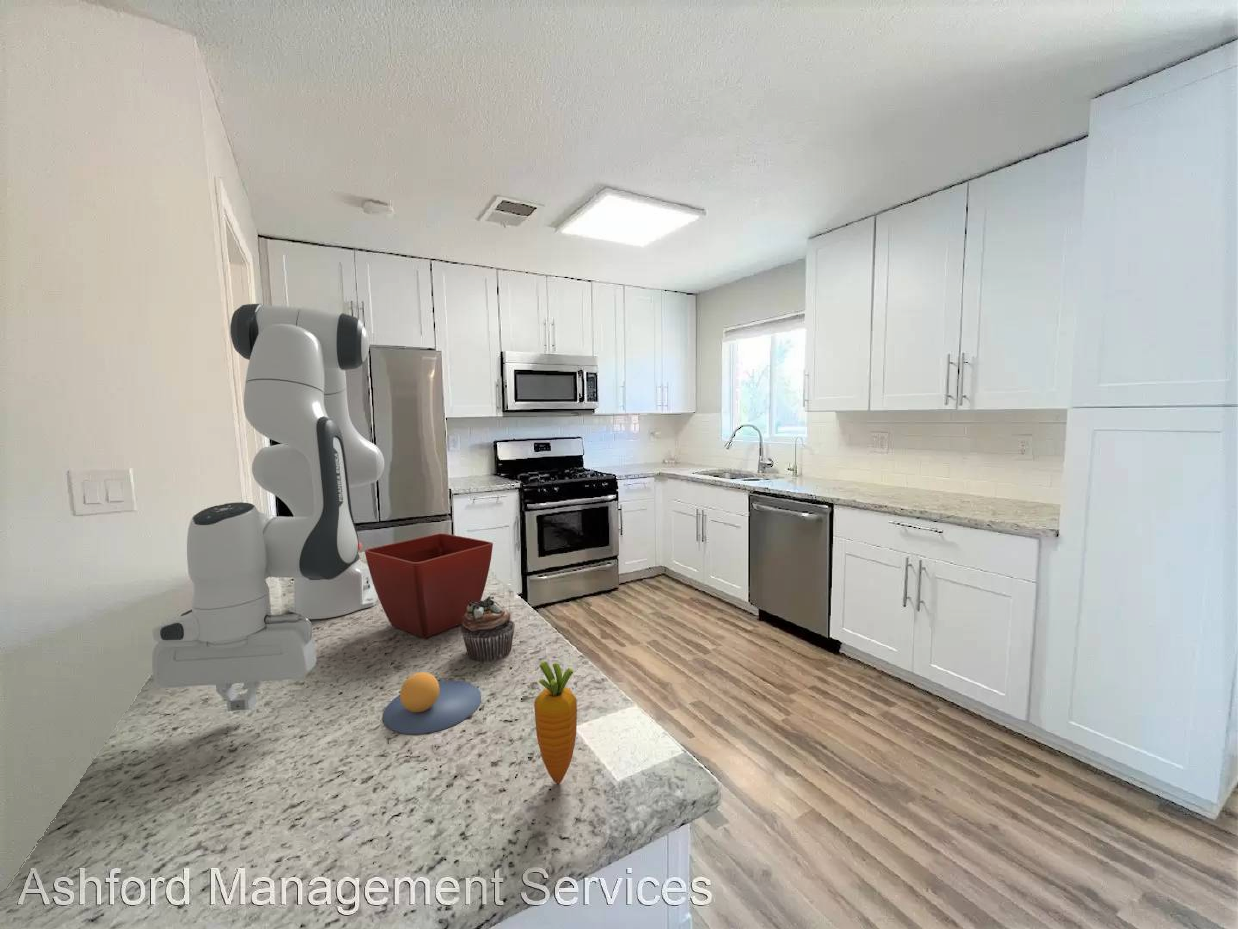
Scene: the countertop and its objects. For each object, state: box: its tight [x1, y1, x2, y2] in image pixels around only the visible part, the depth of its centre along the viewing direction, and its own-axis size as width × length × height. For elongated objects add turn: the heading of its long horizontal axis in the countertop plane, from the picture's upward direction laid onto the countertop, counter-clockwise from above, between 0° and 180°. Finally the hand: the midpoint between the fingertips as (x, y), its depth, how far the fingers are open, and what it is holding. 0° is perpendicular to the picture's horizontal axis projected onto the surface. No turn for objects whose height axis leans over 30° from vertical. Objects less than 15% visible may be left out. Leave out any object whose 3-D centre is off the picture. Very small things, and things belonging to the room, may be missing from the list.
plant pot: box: [364, 533, 494, 639], centre depth 107 cm, size 19×19×17 cm
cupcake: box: [460, 595, 516, 663], centre depth 93 cm, size 10×10×10 cm
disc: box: [382, 679, 482, 735], centre depth 76 cm, size 14×14×1 cm
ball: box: [399, 671, 439, 713], centre depth 75 cm, size 6×6×6 cm
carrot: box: [533, 660, 578, 785], centre depth 59 cm, size 5×5×15 cm
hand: (242, 708), depth 73 cm, fingers closed
